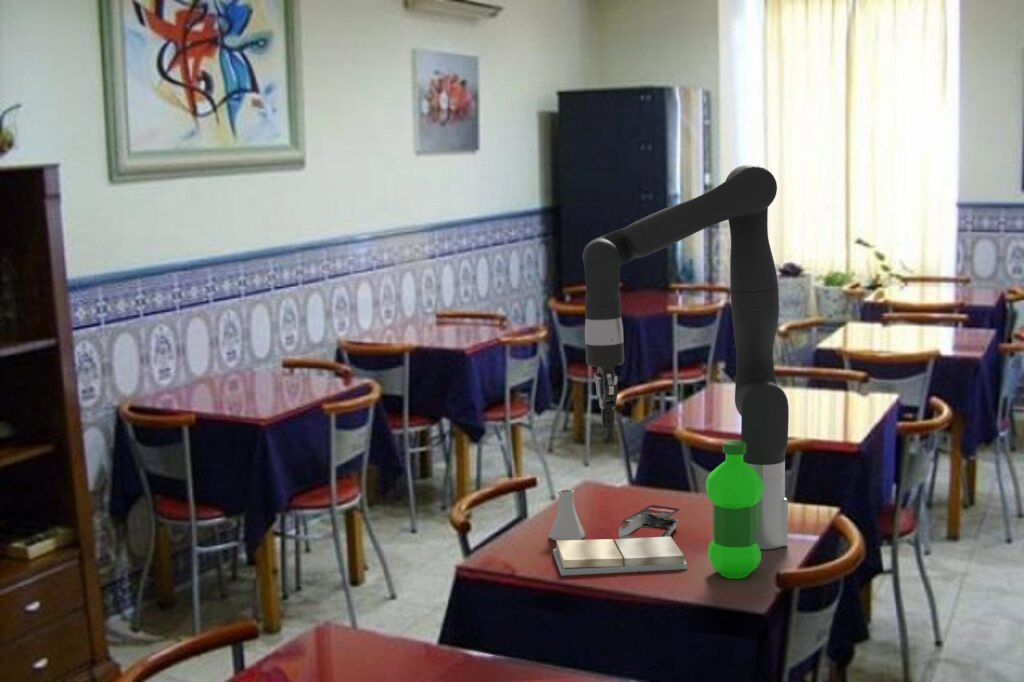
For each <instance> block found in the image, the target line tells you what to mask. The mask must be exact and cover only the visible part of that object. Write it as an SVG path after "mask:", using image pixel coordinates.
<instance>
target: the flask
mask: <svg viewBox="0 0 1024 682" xmlns="http://www.w3.org/2000/svg"><path fill="white" fill-rule="evenodd" d="M574 494H575V490H573V489H569V488H563V489H559V490H558V491H557V495H558V497H559V499H558V500H559V502H558V507H557V512H556V514H555V518H554V521H553V524H552V527H551V529H550V532H549V534H548V538H549V539H550V540H553V541H555V542H556V541H559V540H583V539H584V538H585V537H586V532H585V530H584V529H583V526H582V524H581V522H580V519H579V515H578V514H577V511H576V509H575V508H576V507H575V503H574Z"/></svg>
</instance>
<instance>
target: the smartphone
mask: <svg viewBox="0 0 1024 682" xmlns="http://www.w3.org/2000/svg"><path fill="white" fill-rule="evenodd" d="M680 510H681V509H680V508H676V507H670V506H662V505H656V504H650V505H647V506H646V507H644V508H643V509H641V510H639V511H638V512H635V513H634V514H632V515H630V516H629V517H627V518H625V519H624V520H622V521H621V524H622V525H627V524H628V523H629V522H633V520H634V519H635V518H639V520H641V517H643V515H644V513H652V514H653V515H656V516H658V517H664V518H670V517H672V516H673V515H675V514H676V513H679V512H680ZM642 527H644V528H654V527H655V526H654V525H650V524H643V525H642ZM642 527H641V528H642Z"/></svg>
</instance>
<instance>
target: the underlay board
mask: <svg viewBox="0 0 1024 682" xmlns="http://www.w3.org/2000/svg"><path fill="white" fill-rule="evenodd" d="M552 550H553V551H552V552H553V553H552V554H553V556H554V559H555V562H556V565H557V568H558V571H559V573H560V576H580V575H581V576H582V575H597V574H598V575H599V574H615V573H618V574H619V573H620V574H621V573H636V572H639V571H640V572H656V571H657V572H658V571H672V570H673V571H676V570H688V563H687V562H686V560H685V559H684V563H678V564H659V565H640V566H625V565H624V563H623V566H608V567H572V568H564V567H563V564H562V562H561V559H560V556H559V554H558V551H557V548H553V549H552Z"/></svg>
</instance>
